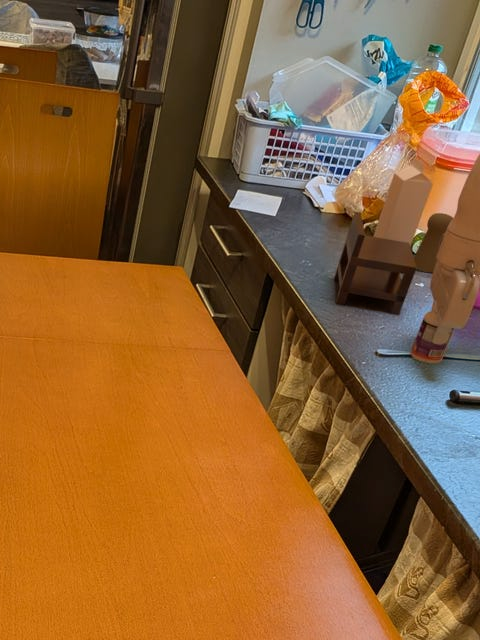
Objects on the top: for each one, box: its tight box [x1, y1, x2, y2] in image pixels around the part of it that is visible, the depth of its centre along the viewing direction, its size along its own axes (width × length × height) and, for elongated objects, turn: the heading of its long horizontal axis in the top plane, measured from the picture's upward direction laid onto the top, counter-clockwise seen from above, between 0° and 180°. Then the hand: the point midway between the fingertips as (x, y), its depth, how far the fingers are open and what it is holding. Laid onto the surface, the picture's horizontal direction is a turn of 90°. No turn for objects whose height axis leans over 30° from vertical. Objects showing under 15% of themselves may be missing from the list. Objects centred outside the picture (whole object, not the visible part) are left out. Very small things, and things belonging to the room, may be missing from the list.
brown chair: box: [333, 211, 417, 316], centre depth 181 cm, size 12×16×13 cm
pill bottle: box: [410, 300, 456, 365], centre depth 160 cm, size 5×5×10 cm
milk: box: [372, 157, 434, 275], centre depth 189 cm, size 6×6×22 cm
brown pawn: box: [413, 212, 454, 274], centre depth 199 cm, size 6×6×11 cm
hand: (434, 334), depth 160 cm, fingers open, 6 cm apart
